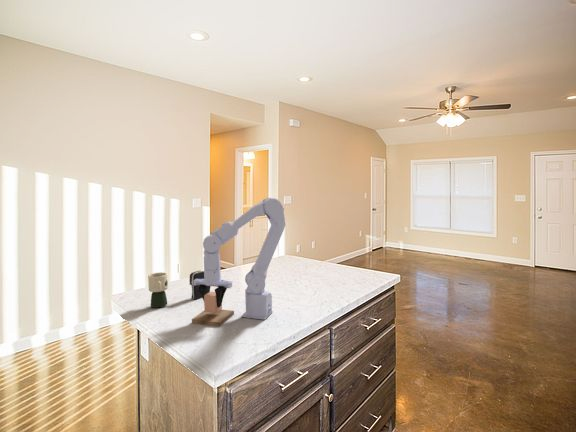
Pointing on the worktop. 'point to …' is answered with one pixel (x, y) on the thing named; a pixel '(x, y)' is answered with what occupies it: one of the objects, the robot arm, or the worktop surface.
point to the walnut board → (213, 317)
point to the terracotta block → (211, 303)
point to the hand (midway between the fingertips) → (213, 305)
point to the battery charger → (195, 291)
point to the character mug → (158, 289)
